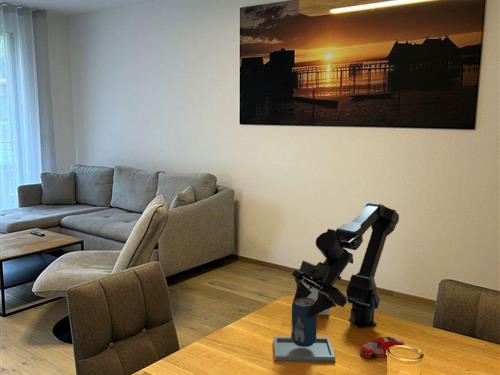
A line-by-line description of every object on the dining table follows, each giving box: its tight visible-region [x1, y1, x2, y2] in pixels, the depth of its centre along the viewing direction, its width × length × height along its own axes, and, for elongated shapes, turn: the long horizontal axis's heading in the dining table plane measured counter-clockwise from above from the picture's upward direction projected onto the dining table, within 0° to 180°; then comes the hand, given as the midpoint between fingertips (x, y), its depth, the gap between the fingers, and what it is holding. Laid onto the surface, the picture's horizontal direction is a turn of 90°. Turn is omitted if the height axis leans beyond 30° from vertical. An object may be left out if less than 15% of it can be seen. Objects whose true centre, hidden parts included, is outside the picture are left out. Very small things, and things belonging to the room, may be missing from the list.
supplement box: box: [307, 285, 331, 316], centre depth 155 cm, size 7×7×13 cm
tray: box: [273, 336, 336, 363], centre depth 128 cm, size 16×11×2 cm
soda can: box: [290, 297, 318, 347], centre depth 127 cm, size 7×7×12 cm
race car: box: [359, 336, 405, 360], centre depth 128 cm, size 13×5×4 cm, turn 107°
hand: (300, 312), depth 126 cm, fingers closed on soda can, 7 cm apart
